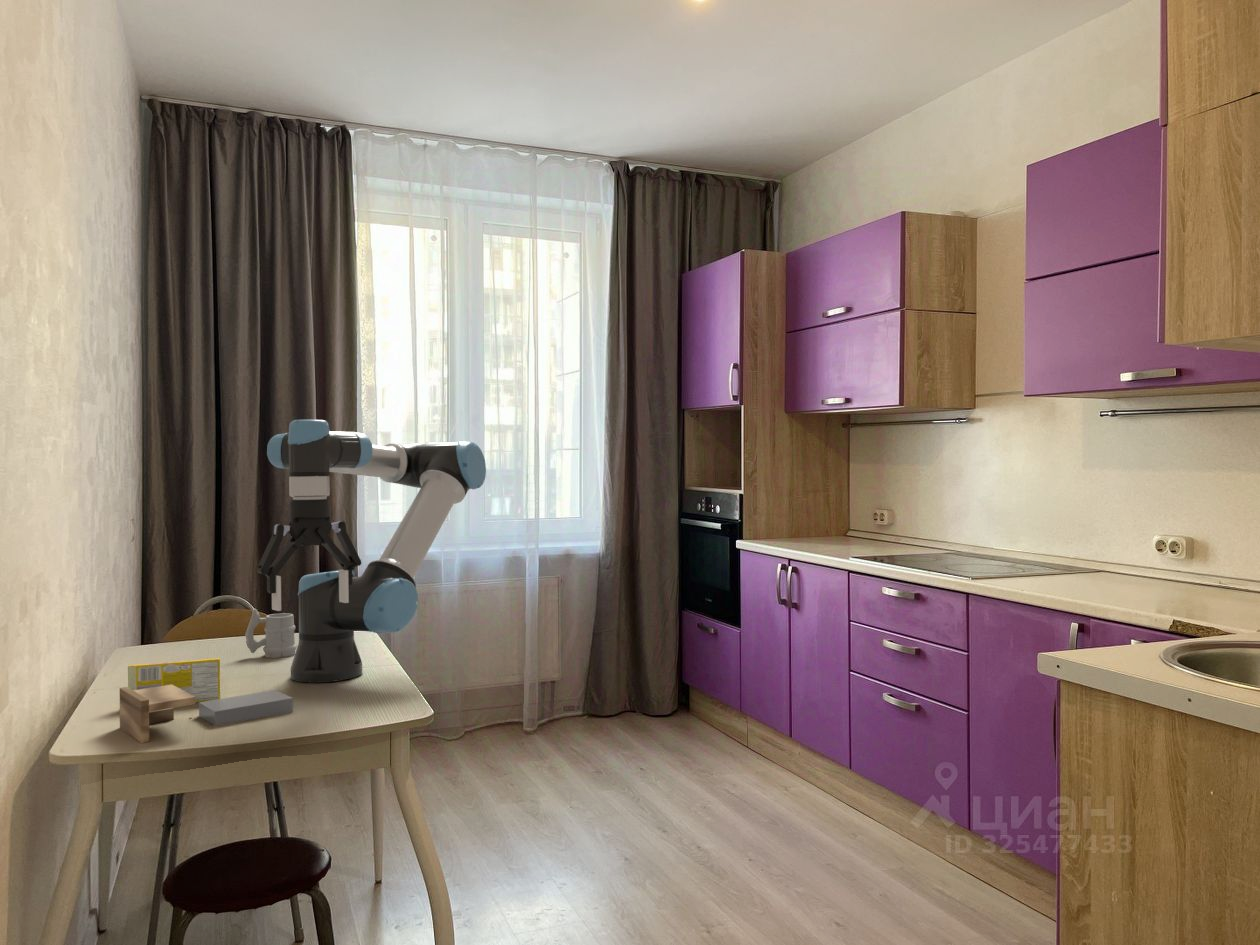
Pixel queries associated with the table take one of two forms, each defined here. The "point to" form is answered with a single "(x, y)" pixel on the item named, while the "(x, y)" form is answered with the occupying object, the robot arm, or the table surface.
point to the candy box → (179, 677)
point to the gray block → (245, 707)
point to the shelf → (149, 708)
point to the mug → (273, 634)
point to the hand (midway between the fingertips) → (311, 606)
